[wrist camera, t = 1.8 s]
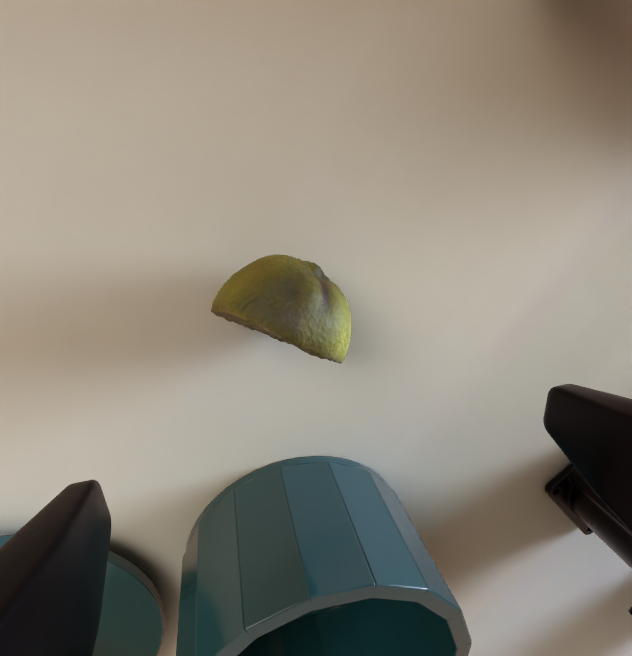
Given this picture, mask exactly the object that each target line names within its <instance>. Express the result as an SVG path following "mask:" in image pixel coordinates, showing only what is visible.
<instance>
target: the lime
mask: <svg viewBox="0 0 632 656" xmlns="http://www.w3.org/2000/svg"><path fill="white" fill-rule="evenodd" d="M211 312H212V313H214V314H215V315H217V316H220V317H223V318H225V319H226V320H227V321H230V322H232V321H233V322H235V323H237V324H240V325H243V326H245V327H248V328H249V329H252V330H254V329H255V330H257V331H259V332H262V333H264V334H267V335H269V336H270V337H272V338H274V339H278V340H279V341H280V342H282V341H283V342H286V343H288V344H293V345H294V346H296V347H298V348H299V349H301V350H303V351H304V352H307V353H308V354H310V355H313V356H317V357H319V358H321V359H328V360H330V361H334V362H337V363H342V362H343V360H344V358H345V356H346V354H347V351H348V347H349V344H350V338H351V313H350V309H349V306H348V303H347V300H346V298H345V296H344V295H343V293H342V292H341V291H340V289H339V287H338V286H337V285H335V284H334V283H333V282H331V281H330V280H329V278H327V277H326V276H325V275H324V273H323V271H322V270H321V268H320V267H319V266H318V265H316V264H315V263H311V262H308V261H302V260H300V259H296V258H293V257H290V256H286V255H270V256H266V257H263V258H261V259H258V260H256V261H254V262H252V263H250V264H249V265H247V266H245V267H244V268H242V269H241V270H239V271H238V272H237V273H235V274H233V276H231V277H230V279H229V280H228V281H227V282H226V283H225V284H224V285H223V287H222V288H221V289H220V291H219V292H218V294H217V295H216V297H215V299H214V300H213V304H212V309H211Z"/></svg>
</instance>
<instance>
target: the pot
mask: <svg viewBox="0 0 632 656" xmlns="http://www.w3.org/2000/svg"><path fill="white" fill-rule="evenodd" d="M470 647H471V637H470V634H469V631H468V628H467V625H466V622H465V619H464V616H463V613H462V610H461V609H460V607H459V605H458V603H457V601H456V600H455V598H454V596H453V594H452V593H451V591H450V589H449V587H448V585H447V584H446V582H445V580H444V578H443V577H442V575H441V573H440V571H439V570H438V568H437V566H436V564H435V562H434V561H433V559H432V557H431V555H430V554H429V552H428V550H427V548H426V547H425V545H424V543H423V541H422V539H421V538H420V536H419V534H418V532H417V531H416V529H415V527H414V525H413V523H412V522H411V520H410V518H409V516H408V515H407V513H406V511H405V509H404V508H403V506H402V504H401V502H400V500H399V499H398V497H397V495H396V493H395V492H394V491H393V490H392V489H391V488H390V487H389V486H388V484H387V483H386V482H385V481H384V480H383V479H382V478H381V477H380V476H379V475H378V474H377V473H375V472H374V471H372V470H371V469H369V468H367V467H365V466H363V465H361V464H359V463H356V462H353V461H350V460H347V459H342V458H336V457H326V456H311V457H300V458H294V459H288V460H284V461H281V462H277V463H274V464H270V465H268V466H265V467H263V468H260V469H258V470H256V471H254V472H252V473H250V474H248V475H246V476H244V477H242V478H241V479H239V480H238V481H236V482H235V483H233V484H232V485H230V486H229V487H227V488H226V489H225V490H224V491H223V492H221V493H220V494H219V495H218V496H217V497H216V498H215V499H214V500H213V501H212V502H211V503H210V504H209V505H208V506H207V507H206V508H205V510H204V511H203V512H202V514H201V515H200V517H199V518H198V519H197V521H196V523H195V525H194V527H193V529H192V531H191V533H190V536H189V539H188V542H187V546H186V552H185V554H184V556H183V563H182V577H181V592H180V606H179V621H178V635H177V650H176V656H468V654H469V650H470Z"/></svg>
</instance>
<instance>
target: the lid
mask: <svg viewBox="0 0 632 656" xmlns="http://www.w3.org/2000/svg"><path fill="white" fill-rule="evenodd" d="M13 536H14V535H7V536H0V547H2V546H3V545H4V544H5V543H6V542H7V541H8V540H9V539H10V538H11V537H13ZM164 622H165V621H164V608H163V604H162V600H161V597H160V595H159V593H158V591H157V589H156V587H155V586H154V584H153V583H152V582H151V580H150V579H149V578H148V577H147V576H146V575H145V574H144V573H143V572H142V571H141V570H140V569H139V568H138V567H137V566H135V565H134V564H132V563H131V562H129V561H128V560H127V559H125V558H123V557H121V556H119V555H117V554H115V553H114V552H112V551H108V560H107V568H106V576H105V584H104V593H103V601H102V609H101V616H100V623H99V628H98V633H97V637H96V642H95V646H94V651H93V655H92V656H157V654H158V651H159V649H160V646H161V643H162V638H163V632H164Z"/></svg>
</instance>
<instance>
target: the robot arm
mask: <svg viewBox="0 0 632 656" xmlns="http://www.w3.org/2000/svg"><path fill="white" fill-rule="evenodd" d="M544 426H545V428H546V430H547V432H548V433H549V434H550V436H551V437H552V438H553V440H554V441H555V442H556V443H557V445H558V446H559V447H560V449H561V450H562V451H563V453H564V454H565V455H566V456H567V458H568V459H569V460H570V462H571V464H570V465H569V466H568V467H567V468H565V469H564V470H563V471H562V472H561V473H560V474H558V475H557V476H556V477H555V478H554V479H552V480H551V481H550V482H549V483H548V484H547V485H546V487H545V492H546V493H547V494H548V495H549V496H550V497H551V499H552V500H553V501H554V502H555V503H556V504H557V505H558V506H559V507H560V508H561V509H562V511H563V512H564V513H565V514H566V515H567V516H568V517H569V518H570V519H571V520H572V521H573V522H574V524H575V525H576V526H577V527H578V528H579V529H580V530H581V531H582V532H583V533H584V534H586V535H588V534H591V533H592V532H594V533H595V534H596V535H597V536H599V537H600V538H601V539H602V540H603V541H604V542H605V543H606V544H607V545H608V546H609V547H610V548H611V549H612V550H613V551H614V552H615V553H616V554H617V555H618V556H619V557H620V558H622V559H623V560H624V561H625V562H626V563H627V564H628V565H629V566H630V567H631V568H632V399H629V398H625V397H621V396H617V395H613V394H609V393H605V392H601V391H597V390H593V389H589V388H585V387H581V386H577V385H573V384H565V385H561V386H556V387H553V388H551V389H550V391H549V393H548V397H547V402H546V408H545V413H544ZM110 535H111V516H110V513H109V510H108V507H107V504H106V501H105V498H104V495H103V492H102V489H101V486H100V484H99V483H98V482H97V481H95V480H88V481H83V482H78V483H74V484H71V485H69V486H67V487H66V488H65V489H64V490H63V491H62V492H61V493H60V494H58V495H57V496H56V497H55V498H54V499H53V500H52V501H51V502H50V503H49V504H48V505H46V506H45V507H44V508H43V509H42V510H41V511H40V512H39V513H38V514H37V515H35V516H34V517H33V518H32V519H31V520H30V521H29V522H28V523H27V524H26V525H25V526H23V527H22V528H21V529H20V530H19V531H18V532H17V533H16V534H15V535H14V536H13V537H11V538H10V539H9V540H8V541H7V542H6V543H5V544H4V545H3V546H2V547H0V656H92V655H93V651H94V646H95V642H96V637H97V633H98V628H99V623H100V616H101V609H102V601H103V593H104V584H105V576H106V568H107V560H108V551H109V543H110ZM628 611H629V612H630V614H631V615H632V607H631V608H630V609H629V610H628Z"/></svg>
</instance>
